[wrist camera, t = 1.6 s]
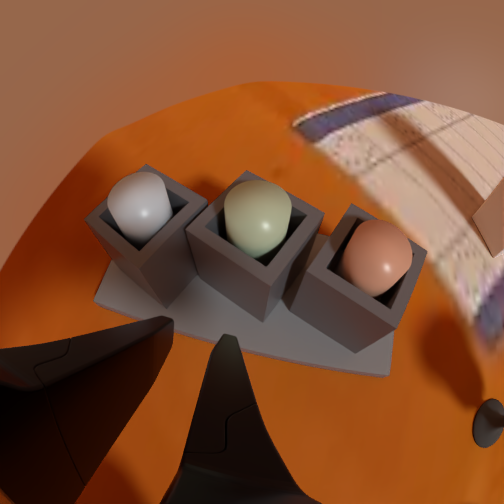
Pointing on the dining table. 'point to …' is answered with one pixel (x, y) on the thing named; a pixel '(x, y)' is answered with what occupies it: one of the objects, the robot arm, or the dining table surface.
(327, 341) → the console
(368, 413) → the dining table surface
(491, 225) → the milk
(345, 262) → the salmon orange ball
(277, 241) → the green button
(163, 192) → the white rounded dome
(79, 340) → the robot arm
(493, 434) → the sundae
